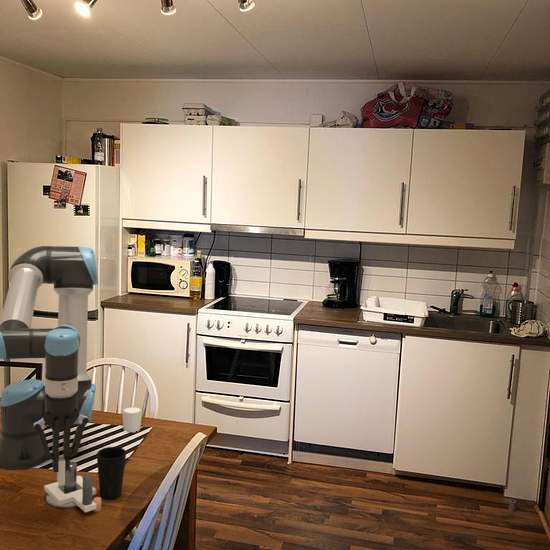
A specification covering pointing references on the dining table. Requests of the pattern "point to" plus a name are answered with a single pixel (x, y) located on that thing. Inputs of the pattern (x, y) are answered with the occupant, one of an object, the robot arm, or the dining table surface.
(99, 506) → the dowel
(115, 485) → the cup
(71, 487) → the base
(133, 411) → the white cylinder
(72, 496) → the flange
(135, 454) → the dining table surface
